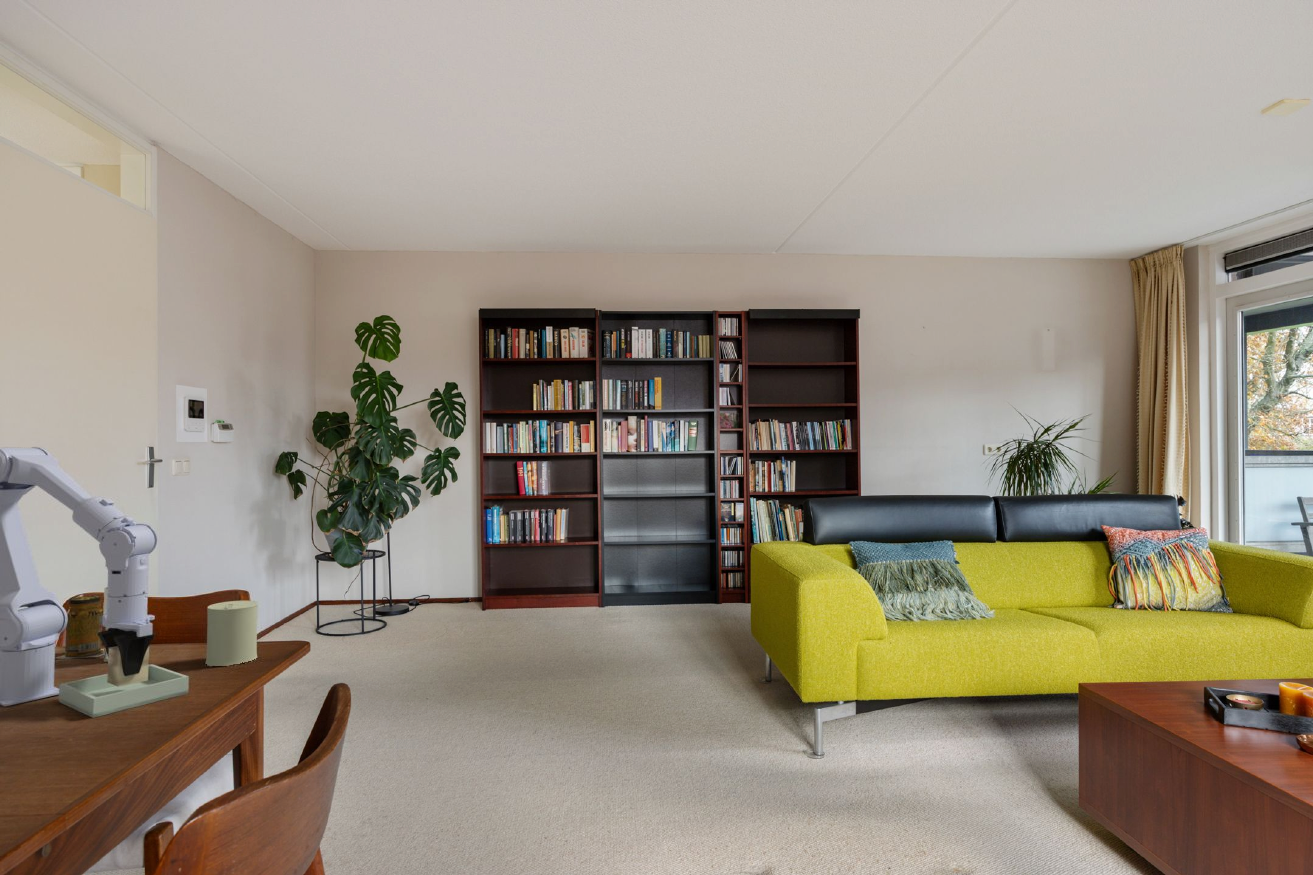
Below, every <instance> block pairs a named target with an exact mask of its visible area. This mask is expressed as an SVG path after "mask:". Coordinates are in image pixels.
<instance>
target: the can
mask: <svg viewBox="0 0 1313 875" xmlns="http://www.w3.org/2000/svg"><path fill="white" fill-rule="evenodd" d="M258 607H259V602H258V601H255V600H233V601H232V600H231V601H230V600H229V601H223V602H218V603H217V602H216V603H213V604H210V605H208V606H207V608H206V610H207V623H206V624H207V629H206V630H207V632H206V633H207V634H206V635H207V636H206V657H205V658H206V660H205V665H206V664H207V665H206V666H208V667H212V666H227V667H230V666H229V665H233V664H240V663H242V662H243V663H244V662H248V661H251V662H253V661H252V660H254V659H255V660H257V659H258V654H257V653H258V651H257V650H258V649H257V648H258V646H257V644H258V643H257V642H258V639H257V638H258V611H259V610H258V609H259V608H258ZM256 658H257V659H256ZM255 660H254V661H255Z"/></svg>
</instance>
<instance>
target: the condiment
mask: <svg viewBox="0 0 1313 875" xmlns="http://www.w3.org/2000/svg"><path fill="white" fill-rule="evenodd" d="M101 600H102V598H101V597H100V596H97V595H89V596H88V595H87V596H80V597H73V598H71V599H69V606H68V611H67V612H66V613H67V617H68V621H67V625H66V627H65V647H64V649H65V650H64V652H65V654H63V655H59V656H57V657H55V659H63V660H65V659H78V658H79V659H80V658H81V659H84V658H85V659H86V658H98V657H102V656H105V652H106V651H104V649H105V648H102V647H103V646H102V644H103V642H102V641H101V639H100V638H99V636H98V632H102V631H103V626H102V622H103V608H102V603H101ZM101 650H103V652H102V651H101ZM105 650H106V649H105Z"/></svg>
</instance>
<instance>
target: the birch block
mask: <svg viewBox="0 0 1313 875" xmlns="http://www.w3.org/2000/svg"><path fill="white" fill-rule="evenodd" d="M149 660H150V646H149V647H148V649H147V651H146V653H145V656H144V659H143V663H142V666H141V669H140V672H139V673H138V674H134V675H129V676H124V673H123V669H122V663H121V655H120V651H119V648H118V646H116V647H110V648H109V656H108V662H107V674H108V677H107V683H110V684H113V685H115V686H118V687H120V686H124V685H129V684H134V683H138V682H143V681H147V680H148V665H150V664H149Z"/></svg>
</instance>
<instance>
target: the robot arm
mask: <svg viewBox="0 0 1313 875" xmlns="http://www.w3.org/2000/svg"><path fill="white" fill-rule="evenodd" d="M36 486H37V487H39V488H40V489H42V490H43V491H44V492H46V493H47V494H49V495H50V496H51V497H52V498H54V500H57V501H58V502H60V503H61V504H63V505H64V506H65V507H66V508H68V509H69V510H71V511H72V521H73V522H74V523H75V524H76V525H78V526H79V527H80V528H82V530H84V531H85V532H86V534H88V535H90V536H91V537H92V538H93V539H95V540H96V542H98V544H99V545H98V548H99V551H100V554H101V555H102V556H103V558H104V560H105V568H106V569H107V586H106V587H107V615H102V616H103V617H102V627H103V628H105V627H108V628H109V629H108V630H107V631H105V630H102V632H98V636H99V638H100V639H101V641H102V644H103V647H104V649H106V652H107V655H108V656H109V648H110V647H116V646H118V648H119V651H120V655H121V663H122V669H123V673H124V676H129V675H134V674H138V673H139V672H140V669H141V666H142V663H143V659H144V656H145V653H146V651H147V649H148V647H149V648H150V644H151V643H152V641H153V640H154V639H155V638H156V632H154V631H153V623H152V622H150V621H154V620H155V615H153V614H148V602H149V601H148V596H149V566H150V565H149V564H150V563H149V561H150V559H149V558H150V554H151V553H152V552H154V550H155V549H156V547H157V543H158V536H157V533H156V532H155V530H154V529H153V528H152V526H151V525H150V524H148V523H137V522H136V521H134V519H133V518H132V517H131V516H127V515H126V514H124V512H122V511H121V510H120V509H118V508H117V507H116V506H114V504H115V501H113V500H112V499H111V498H105V497H101V496H97V497H96V496H94V497H92V496H91V494H89V493H88V492H87V491H86V490H85V489H84V488H83V487H81V486H80V484H79V483H78V482H76V481H75V480H74V479H73V478H72V477H71V476H70V475H69V474H68V473H67V472H66V471H65V470H63V468H62V467H61V466H59V459H58V458H57V457H55V456H54V455H52V454H51V453H50V452H49V451H48V450H46V449H45V448H42V447H39V446H38V447H37V446H32V447H8V446H7V447H6V446H0V705H1V706H3V707H7V706H8V707H9V706H14V705H17V704H21V703H26V702H30V701H35V700H39V699H44V698H48V697H49V698H50V697H52V696H59V688H58V687H56V686H55V662H56V657H55V655H56V653H55V652H56V641H59V636H60V634H61V633H62V632H64V631H65V630H66V625H67V621H68V617H67V613H68V612H67V610H66V609H65V607H63V605H61V603H60V601H59V599H58V596H57V594H56V593H55V592H54V591H51V590H50V589H48V588H45V587H43V586H42V585H41V581H40V578H39V574H38V570H37V568H36V564H35V560H34V558H33V557H34V556H33V552H32V550H31V547H30V544H29V538H28V537H27V532H26V529H25V525H24V522H23V519H22V515H21V512H20V509H19V505H18V504H19V501H20V500H21V499H22V498H23V497H24V496H25V495H26V494H28V493H29V492H30V491H32V490H33V489H34V488H36ZM19 608H21V609H19Z"/></svg>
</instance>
